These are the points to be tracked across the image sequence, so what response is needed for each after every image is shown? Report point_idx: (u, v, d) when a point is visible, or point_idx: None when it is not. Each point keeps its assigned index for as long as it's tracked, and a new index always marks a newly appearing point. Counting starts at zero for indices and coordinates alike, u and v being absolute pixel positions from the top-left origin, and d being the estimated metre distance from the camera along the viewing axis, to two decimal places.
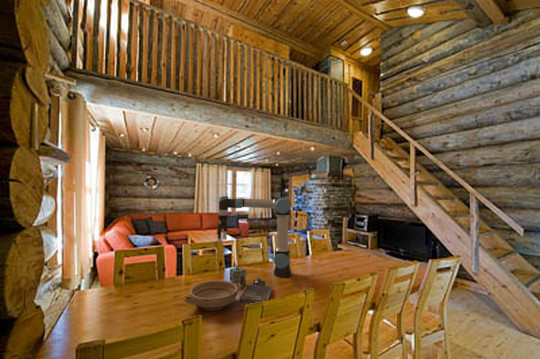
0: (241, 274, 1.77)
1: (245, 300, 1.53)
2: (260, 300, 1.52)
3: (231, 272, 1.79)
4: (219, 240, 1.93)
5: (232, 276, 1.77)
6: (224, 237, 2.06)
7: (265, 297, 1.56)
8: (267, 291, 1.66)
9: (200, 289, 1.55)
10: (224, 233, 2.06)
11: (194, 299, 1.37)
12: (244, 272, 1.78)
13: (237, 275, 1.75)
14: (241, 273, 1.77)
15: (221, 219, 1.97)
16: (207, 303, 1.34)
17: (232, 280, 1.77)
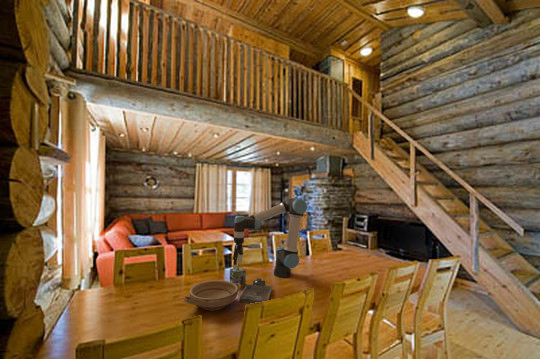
0: (241, 274, 1.77)
1: (245, 300, 1.53)
2: (260, 300, 1.52)
3: (231, 272, 1.79)
4: (235, 266, 1.73)
5: (232, 276, 1.77)
6: (239, 261, 1.87)
7: (265, 297, 1.56)
8: (267, 291, 1.66)
9: (200, 289, 1.55)
10: (239, 257, 1.87)
11: (194, 299, 1.37)
12: (244, 272, 1.78)
13: (237, 275, 1.75)
14: (241, 273, 1.77)
15: (237, 242, 1.78)
16: (207, 303, 1.34)
17: (232, 280, 1.77)
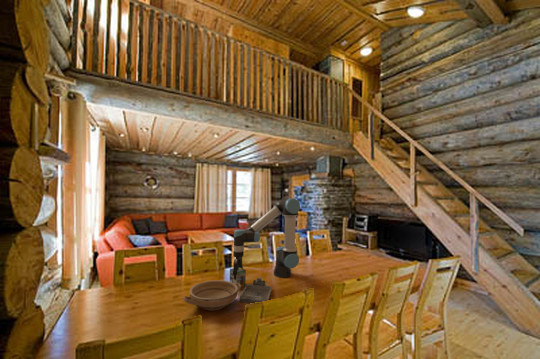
0: (241, 274, 1.77)
1: (245, 300, 1.53)
2: (260, 300, 1.52)
3: (231, 272, 1.79)
4: (235, 281, 1.73)
5: (232, 276, 1.77)
6: None
7: (265, 297, 1.56)
8: (267, 291, 1.66)
9: (200, 289, 1.55)
10: None
11: (194, 299, 1.37)
12: (244, 272, 1.78)
13: (237, 275, 1.75)
14: (241, 273, 1.77)
15: (237, 256, 1.77)
16: (207, 303, 1.34)
17: (232, 280, 1.77)
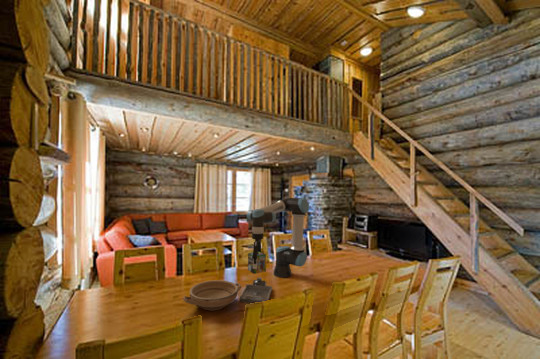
0: (261, 258, 1.59)
1: (245, 300, 1.53)
2: (260, 300, 1.52)
3: (250, 256, 1.61)
4: (255, 266, 1.55)
5: (251, 260, 1.59)
6: None
7: (265, 297, 1.56)
8: (267, 291, 1.66)
9: (200, 289, 1.55)
10: None
11: (194, 299, 1.37)
12: (264, 256, 1.60)
13: None
14: (261, 257, 1.59)
15: (256, 239, 1.59)
16: (207, 303, 1.34)
17: (251, 265, 1.59)
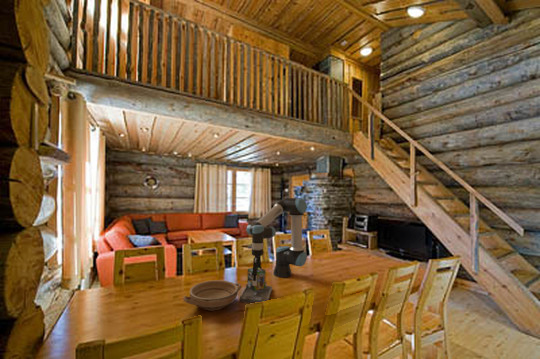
0: (261, 275, 1.59)
1: (245, 300, 1.53)
2: (260, 300, 1.52)
3: (249, 272, 1.61)
4: (254, 282, 1.55)
5: (251, 277, 1.59)
6: None
7: (265, 297, 1.56)
8: (267, 291, 1.66)
9: (200, 289, 1.55)
10: None
11: (194, 299, 1.37)
12: (264, 272, 1.60)
13: None
14: (261, 273, 1.59)
15: (256, 255, 1.59)
16: (207, 303, 1.34)
17: (251, 281, 1.58)
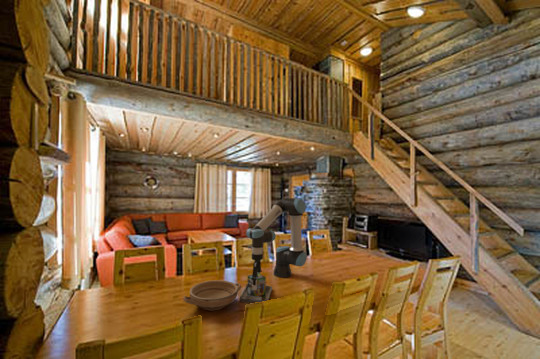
0: (261, 281, 1.59)
1: (245, 300, 1.53)
2: (260, 300, 1.52)
3: (249, 279, 1.61)
4: (254, 287, 1.54)
5: (251, 283, 1.59)
6: None
7: (265, 297, 1.56)
8: (267, 291, 1.66)
9: (200, 289, 1.55)
10: None
11: (194, 299, 1.37)
12: (264, 279, 1.60)
13: None
14: (261, 280, 1.59)
15: (256, 259, 1.59)
16: (207, 303, 1.34)
17: (251, 288, 1.59)
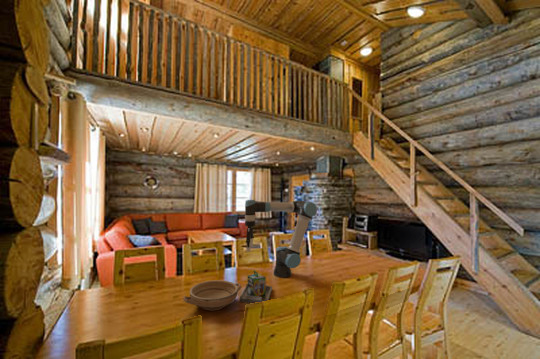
0: (261, 281, 1.59)
1: (245, 300, 1.53)
2: (260, 300, 1.52)
3: (249, 279, 1.61)
4: (248, 249, 1.74)
5: (251, 283, 1.59)
6: (250, 245, 1.88)
7: (265, 297, 1.56)
8: (267, 291, 1.66)
9: (200, 289, 1.55)
10: (250, 240, 1.88)
11: (194, 299, 1.37)
12: (264, 279, 1.60)
13: (256, 283, 1.57)
14: (261, 280, 1.59)
15: (249, 225, 1.78)
16: (207, 303, 1.34)
17: (251, 288, 1.59)
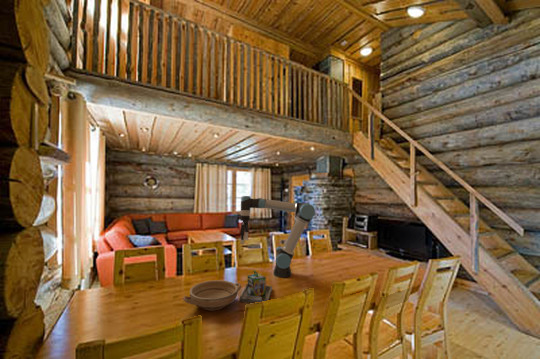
0: (261, 281, 1.59)
1: (245, 300, 1.53)
2: (260, 300, 1.52)
3: (249, 279, 1.61)
4: (242, 241, 1.88)
5: (251, 283, 1.59)
6: (246, 238, 2.01)
7: (265, 297, 1.56)
8: (267, 291, 1.66)
9: (200, 289, 1.55)
10: (246, 234, 2.01)
11: (194, 299, 1.37)
12: (264, 279, 1.60)
13: (256, 283, 1.57)
14: (261, 280, 1.59)
15: (244, 220, 1.92)
16: (207, 303, 1.34)
17: (251, 288, 1.58)
